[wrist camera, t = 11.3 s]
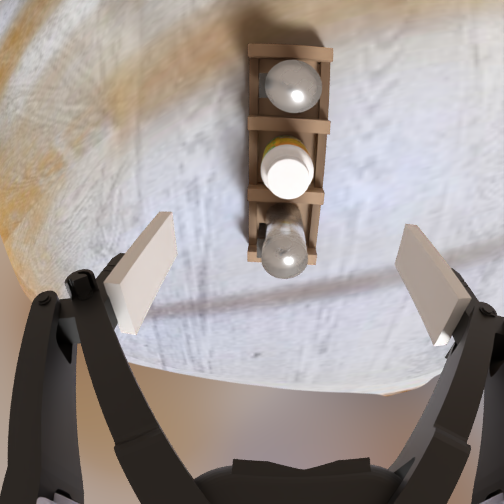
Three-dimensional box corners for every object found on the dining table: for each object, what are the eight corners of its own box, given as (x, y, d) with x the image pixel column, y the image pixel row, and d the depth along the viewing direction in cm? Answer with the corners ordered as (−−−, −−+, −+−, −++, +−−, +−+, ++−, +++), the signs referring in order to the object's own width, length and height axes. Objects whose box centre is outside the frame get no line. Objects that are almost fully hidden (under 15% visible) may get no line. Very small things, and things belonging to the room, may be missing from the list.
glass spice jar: (260, 233, 40) (255, 277, 32) (261, 200, 38) (255, 237, 29) (300, 235, 40) (305, 279, 31) (303, 203, 38) (310, 240, 29)
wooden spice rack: (250, 246, 43) (247, 261, 39) (251, 48, 29) (247, 43, 25) (312, 249, 42) (315, 264, 39) (327, 52, 28) (333, 48, 25)
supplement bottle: (269, 129, 33) (266, 143, 25) (313, 141, 33) (325, 160, 25) (258, 170, 36) (252, 198, 28) (300, 181, 36) (307, 213, 28)
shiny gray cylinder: (262, 106, 32) (257, 111, 23) (263, 67, 29) (257, 58, 21) (309, 108, 31) (320, 114, 23) (310, 70, 29) (322, 62, 20)
